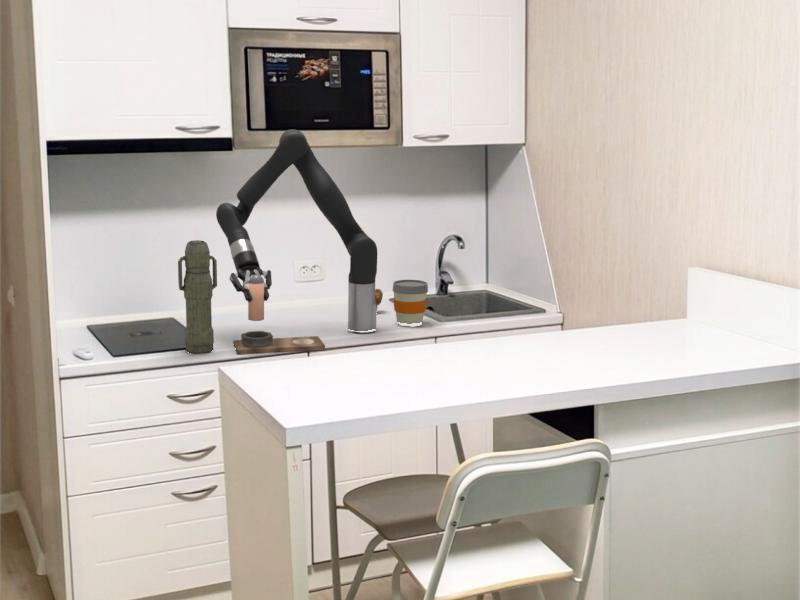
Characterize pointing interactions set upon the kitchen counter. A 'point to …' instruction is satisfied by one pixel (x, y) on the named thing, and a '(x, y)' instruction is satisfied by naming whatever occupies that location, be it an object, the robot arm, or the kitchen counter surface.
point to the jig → (275, 343)
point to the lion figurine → (378, 296)
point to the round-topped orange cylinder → (256, 298)
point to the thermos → (198, 296)
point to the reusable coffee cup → (410, 300)
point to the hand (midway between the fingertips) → (258, 299)
